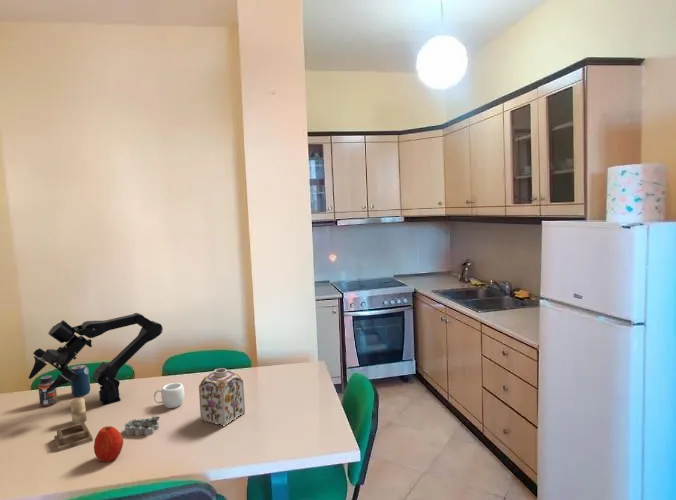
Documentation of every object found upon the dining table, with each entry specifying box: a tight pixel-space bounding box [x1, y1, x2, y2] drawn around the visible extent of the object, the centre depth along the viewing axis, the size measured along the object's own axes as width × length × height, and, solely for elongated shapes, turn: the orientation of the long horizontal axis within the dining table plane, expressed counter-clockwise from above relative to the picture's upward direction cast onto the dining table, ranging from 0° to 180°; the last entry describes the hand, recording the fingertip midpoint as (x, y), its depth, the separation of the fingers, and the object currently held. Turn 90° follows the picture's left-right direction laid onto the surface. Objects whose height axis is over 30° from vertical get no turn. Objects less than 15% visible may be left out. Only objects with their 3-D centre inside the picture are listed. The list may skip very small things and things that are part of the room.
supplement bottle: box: [37, 374, 58, 407], centre depth 187 cm, size 6×6×11 cm
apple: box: [93, 425, 124, 463], centre depth 145 cm, size 8×8×11 cm
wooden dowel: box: [69, 397, 87, 425], centre depth 171 cm, size 4×4×8 cm
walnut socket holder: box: [53, 422, 94, 452], centre depth 157 cm, size 10×10×3 cm
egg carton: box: [122, 415, 161, 437], centre depth 162 cm, size 11×8×4 cm
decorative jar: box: [198, 367, 246, 426], centre depth 170 cm, size 12×12×18 cm
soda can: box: [70, 363, 91, 398], centre depth 195 cm, size 7×7×12 cm
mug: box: [153, 382, 185, 409], centre depth 182 cm, size 12×8×8 cm
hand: (38, 385), depth 170 cm, fingers open, 9 cm apart
